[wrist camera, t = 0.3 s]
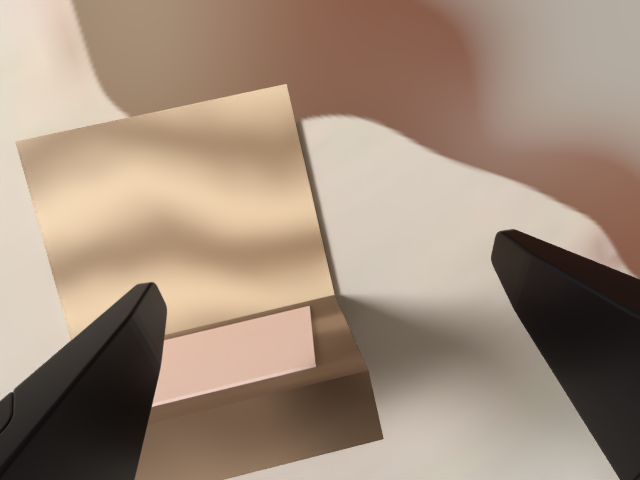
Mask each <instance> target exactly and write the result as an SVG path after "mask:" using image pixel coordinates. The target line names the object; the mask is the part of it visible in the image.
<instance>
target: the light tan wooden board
mask: <svg viewBox="0 0 640 480" xmlns="http://www.w3.org/2000/svg"><path fill="white" fill-rule="evenodd" d="M16 145H17V149H18V152H19V156H20V160H21V163H22V167H23V170H24V174H25V177H26V181H27V185H28V188H29V192H30V195H31V199H32V202H33V206H34V209H35V213H36V217H37V220H38V224H39V227H40V231H41V234H42V238H43V242H44V245H45V249H46V252H47V256H48V259H49V263H50V266H51V270H52V274H53V277H54V281H55V284H56V288H57V291H58V295H59V299H60V302H61V306H62V309H63V313H64V316H65V320H66V323H67V327H68V331H69V334H70V338H71V340H72V339H73V338H75V337H76V336H77V335H78V334H79V333H80V332H82V331H83V330H84V329H85V328H86V327H87V326H89V325H90V324H91V323H92V322H93V321H94V320H96V319H97V318H98V317H99V316H100V315H101V314H103V313H104V312H105V311H106V310H107V309H108V308H110V307H111V306H112V305H113V304H114V303H115V302H117V301H118V300H119V299H120V298H121V297H122V296H124V295H125V294H126V293H127V292H128V291H129V290H131V289H132V288H133V287H134V286H135V285H137V284H140V283H147V282H154V283H155V284H156V285H157V287H158V289H159V291H160V293H161V295H162V297H163V299H164V301H165V303H166V306H167V319H166V328H165V335H167V334H171V333H175V332H179V331H183V330H188V329H192V328H196V327H200V326H205V325H209V324H213V323H217V322H221V321H226V320H230V319H234V318H238V317H242V316H247V315H251V314H255V313H259V312H264V311H268V310H272V309H276V308H280V307H285V306H289V305H293V304H297V303H302V302H306V301H310V300H314V299H318V298H323V297H327V296H331V295H335V294H334V290H333V286H332V281H331V277H330V272H329V268H328V264H327V259H326V255H325V250H324V246H323V242H322V237H321V233H320V229H319V224H318V220H317V215H316V211H315V207H314V202H313V198H312V193H311V189H310V185H309V180H308V176H307V171H306V167H305V163H304V158H303V154H302V149H301V145H300V141H299V136H298V132H297V127H296V123H295V119H294V114H293V110H292V106H291V101H290V97H289V92H288V88H287V84H284V85H280V86H275V87H270V88H266V89H261V90H256V91H252V92H247V93H243V94H237V95H233V96H228V97H223V98H219V99H214V100H210V101H205V102H200V103H195V104H191V105H186V106H181V107H177V108H172V109H167V110H163V111H158V112H153V113H148V114H144V115H139V116H134V117H129V118H125V119H120V120H115V121H111V122H106V123H101V124H97V125H92V126H87V127H83V128H78V129H73V130H69V131H64V132H59V133H54V134H50V135H45V136H40V137H36V138H31V139H26V140H22V141H17V142H16Z"/></svg>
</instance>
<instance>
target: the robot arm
mask: <svg viewBox="0 0 640 480" xmlns="http://www.w3.org/2000/svg"><path fill="white" fill-rule="evenodd" d="M491 261H492V264H493V267H494V269H495V271H496V273H497V275H498V277H499V279H500V281H501V284H502V286H503V288H504V290H505V292H506V294H507V296H508V298H509V300H510V302H511V304H512V306H513V308H514V310H515V312H516V314H517V315H518V317H519V319H520V320H521V322H522V324H523V325H524V327H525V328H526V330H527V332H528V333H529V335H530V336H531V338H532V340H533V341H534V343H535V344H536V346H537V348H538V349H539V351H540V352H541V354H542V356H543V357H544V359H545V360H546V362H547V364H548V365H549V367H550V368H551V370H552V372H553V373H554V375H555V376H556V378H557V380H558V381H559V383H560V384H561V386H562V388H563V389H564V391H565V392H566V394H567V396H568V397H569V399H570V400H571V402H572V404H573V405H574V407H575V408H576V410H577V412H578V413H579V415H580V416H581V418H582V420H583V421H584V423H585V424H586V426H587V428H588V429H589V431H590V432H591V434H592V436H593V437H594V439H595V440H596V442H597V444H598V445H599V447H600V448H601V450H602V452H603V453H604V455H605V456H606V458H607V460H608V461H609V463H610V464H611V466H612V468H613V469H614V471H615V472H616V474H617V476H618V477H619V479H620V480H640V279H637V278H635V277H632V276H630V275H627V274H625V273H622V272H620V271H617V270H615V269H612V268H610V267H607V266H605V265H602V264H600V263H597V262H595V261H592V260H590V259H587V258H585V257H582V256H580V255H577V254H575V253H572V252H570V251H567V250H565V249H562V248H560V247H557V246H555V245H552V244H550V243H547V242H545V241H542V240H540V239H537V238H535V237H533V236H530V235H528V234H525V233H523V232H520V231H518V230H515V229H510V230H503V231H499V232H498V233H497V234H496V237H495V241H494V245H493V250H492V254H491ZM166 319H167V306H166V303H165V301H164V299H163V297H162V295H161V293H160V291H159V289H158V287H157V285H156V284H155V283H154V282H147V283H140V284H137V285H135V286H134V287H133V288H132V289H131V290H129V291H128V292H127V293H126V294H125V295H124V296H122V297H121V298H120V299H119V300H118V301H117V302H115V303H114V304H113V305H112V306H111V307H110V308H108V309H107V310H106V311H105V312H104V313H103V314H101V315H100V316H99V317H98V318H97V319H96V320H94V321H93V322H92V323H91V324H90V325H89V326H87V327H86V328H85V329H84V330H83V331H82V332H80V333H79V334H78V335H77V336H76V337H75V338H73V339H72V340H71V341H70V342H69V343H68V344H66V345H65V346H64V347H63V348H62V349H61V350H59V351H58V352H57V353H56V354H55V355H54V356H52V357H51V358H50V359H49V360H48V361H47V362H45V363H44V364H43V365H42V366H41V367H39V368H38V369H37V370H36V371H35V372H34V373H32V374H31V375H30V376H29V377H28V378H27V379H25V380H24V381H23V382H22V383H21V384H20V385H18V386H17V387H16V388H15V389H14V391H13V392H11V393H9V394H8V395H7V396H6V397H4V398H3V399H2V400H1V401H0V480H135V476H136V472H137V468H138V463H139V459H140V455H141V451H142V446H143V442H144V438H145V433H146V429H147V425H148V421H149V416H150V412H151V408H152V404H153V399H154V395H155V391H156V387H157V382H158V378H159V374H160V369H161V363H162V355H163V346H164V337H165V328H166Z"/></svg>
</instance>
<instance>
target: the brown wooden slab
mask: <svg viewBox="0 0 640 480" xmlns="http://www.w3.org/2000/svg"><path fill="white" fill-rule="evenodd" d="M382 439H383V434H382V430H381V425H380V421H379V416H378V412H377V407H376V403H375V398H374V394H373V389H372V385H371V381H370V376H369V372H368V369H367V367H366V364H365V362H364V360H363V358H362V355H361V353H360V351H359V349H358V346H357V344H356V342H355V340H354V337H353V335H352V333H351V331H350V328H349V326H348V324H347V322H346V319H345V317H344V315H343V313H342V310H341V308H340V306H339V304H338V301H337V299H336V297H335V295H331V296H327V297H323V298H318V299H314V300H310V301H306V302H302V303H297V304H293V305H289V306H285V307H280V308H276V309H272V310H268V311H264V312H259V313H255V314H251V315H247V316H242V317H238V318H234V319H230V320H226V321H221V322H217V323H213V324H209V325H205V326H200V327H196V328H192V329H188V330H183V331H179V332H175V333H171V334H167V335H165V337H164V346H163V355H162V363H161V369H160V374H159V378H158V382H157V387H156V391H155V395H154V399H153V404H152V408H151V412H150V416H149V421H148V425H147V429H146V433H145V438H144V442H143V446H142V451H141V455H140V459H139V463H138V468H137V472H136V476H135V480H224V479H228V478H232V477H236V476H240V475H244V474H248V473H251V472H255V471H259V470H263V469H267V468H271V467H275V466H279V465H283V464H287V463H291V462H295V461H299V460H303V459H307V458H311V457H315V456H318V455H322V454H326V453H330V452H334V451H338V450H342V449H346V448H350V447H354V446H358V445H362V444H366V443H370V442H374V441H378V440H382Z"/></svg>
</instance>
